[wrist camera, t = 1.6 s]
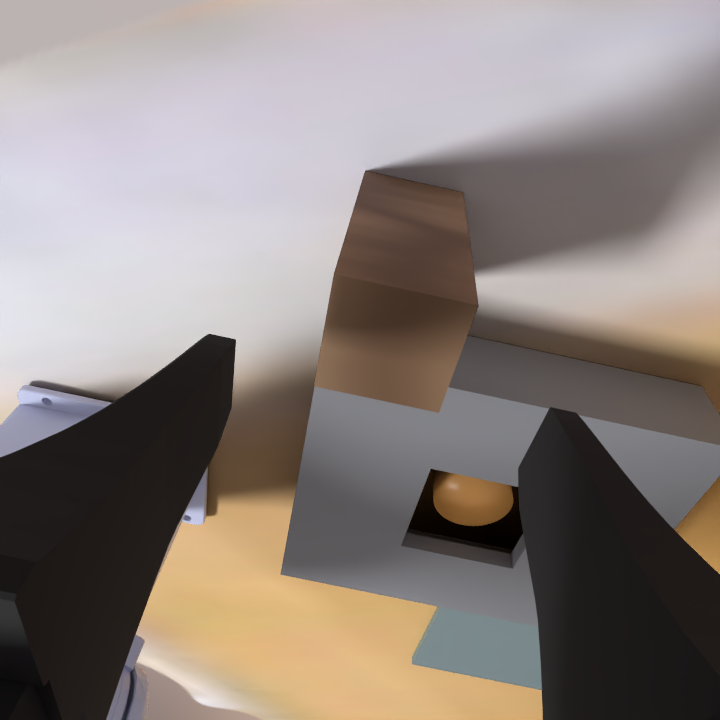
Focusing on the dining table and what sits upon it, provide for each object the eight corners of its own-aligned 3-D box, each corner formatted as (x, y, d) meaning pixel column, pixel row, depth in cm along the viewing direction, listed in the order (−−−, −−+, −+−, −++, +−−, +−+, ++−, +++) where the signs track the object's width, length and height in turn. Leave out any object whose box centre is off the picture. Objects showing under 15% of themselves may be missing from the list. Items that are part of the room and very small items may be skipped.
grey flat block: (295, 514, 32) (280, 574, 29) (334, 306, 23) (319, 359, 20) (568, 570, 32) (583, 635, 29) (701, 386, 24) (741, 450, 21)
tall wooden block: (347, 260, 22) (313, 386, 16) (365, 170, 20) (333, 273, 14) (436, 279, 22) (439, 412, 16) (463, 192, 20) (478, 305, 14)
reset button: (424, 497, 28) (424, 516, 27) (444, 446, 26) (445, 466, 25) (495, 512, 28) (498, 532, 27) (521, 463, 26) (525, 483, 25)
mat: (412, 657, 40) (412, 664, 39) (452, 578, 34) (452, 586, 33) (549, 684, 40) (550, 691, 40) (612, 611, 34) (614, 619, 34)
